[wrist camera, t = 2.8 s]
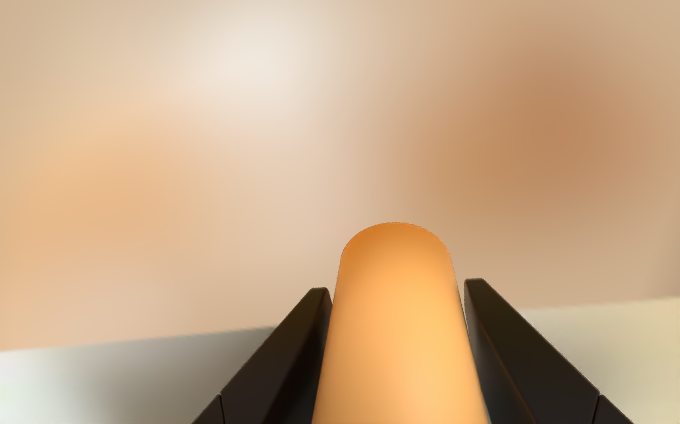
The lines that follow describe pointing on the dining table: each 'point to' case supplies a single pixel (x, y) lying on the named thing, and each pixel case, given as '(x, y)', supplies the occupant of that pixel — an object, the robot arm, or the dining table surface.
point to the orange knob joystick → (398, 336)
